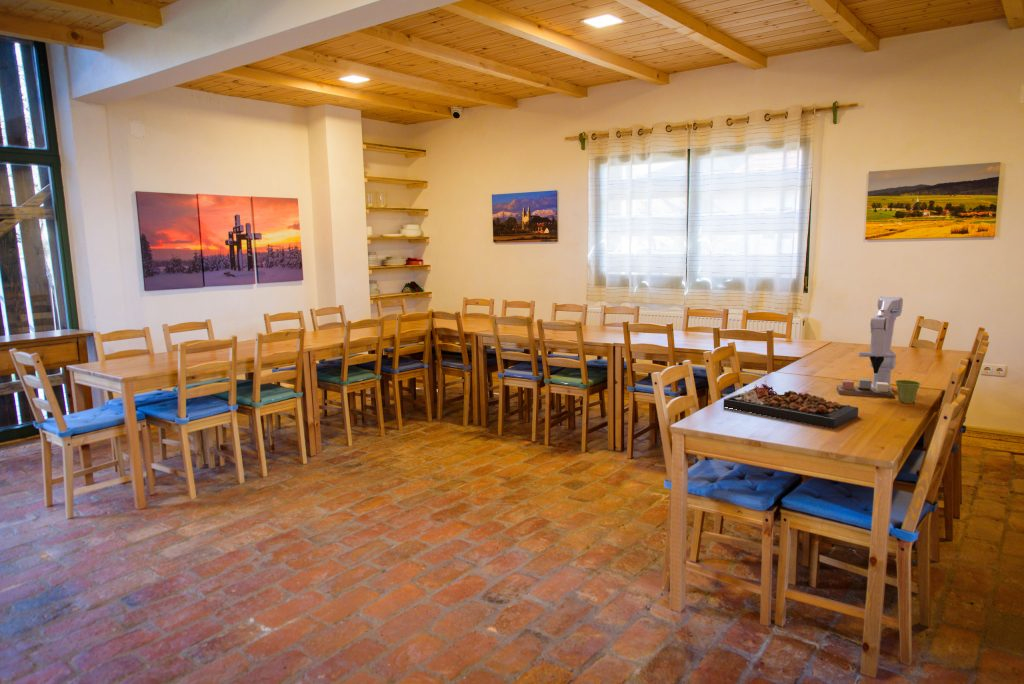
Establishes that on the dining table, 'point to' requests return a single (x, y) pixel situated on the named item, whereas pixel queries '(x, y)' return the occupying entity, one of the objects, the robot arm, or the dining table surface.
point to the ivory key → (882, 386)
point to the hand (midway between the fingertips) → (875, 373)
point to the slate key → (864, 383)
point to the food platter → (792, 407)
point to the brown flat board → (865, 392)
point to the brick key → (848, 384)
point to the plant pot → (907, 390)
